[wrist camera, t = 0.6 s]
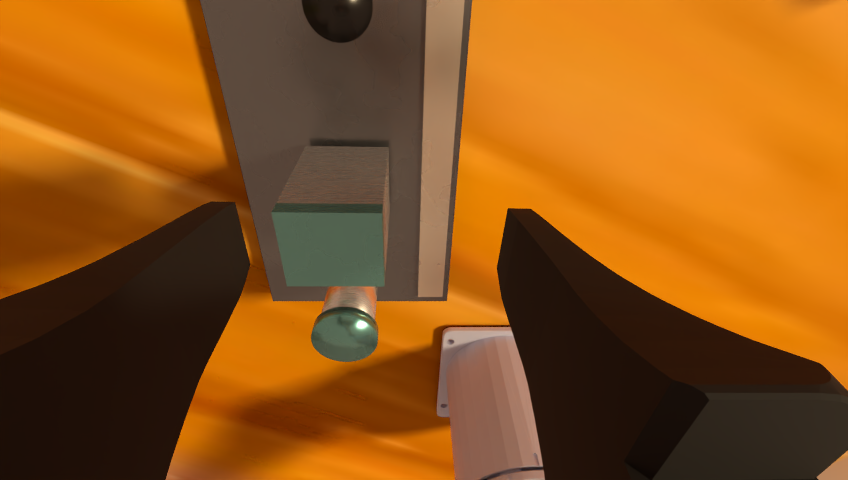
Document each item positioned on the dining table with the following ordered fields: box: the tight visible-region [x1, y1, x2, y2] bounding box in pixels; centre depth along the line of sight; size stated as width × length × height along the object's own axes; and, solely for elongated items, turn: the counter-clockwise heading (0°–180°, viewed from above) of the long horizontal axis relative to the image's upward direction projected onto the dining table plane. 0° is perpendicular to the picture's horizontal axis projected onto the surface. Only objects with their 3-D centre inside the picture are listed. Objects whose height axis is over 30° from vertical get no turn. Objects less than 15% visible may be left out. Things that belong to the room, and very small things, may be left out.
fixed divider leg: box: [311, 286, 378, 362], centre depth 20 cm, size 3×3×6 cm
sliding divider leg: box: [271, 146, 390, 287], centre depth 17 cm, size 3×4×6 cm
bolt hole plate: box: [200, 0, 472, 301], centre depth 19 cm, size 18×10×1 cm, turn 178°
